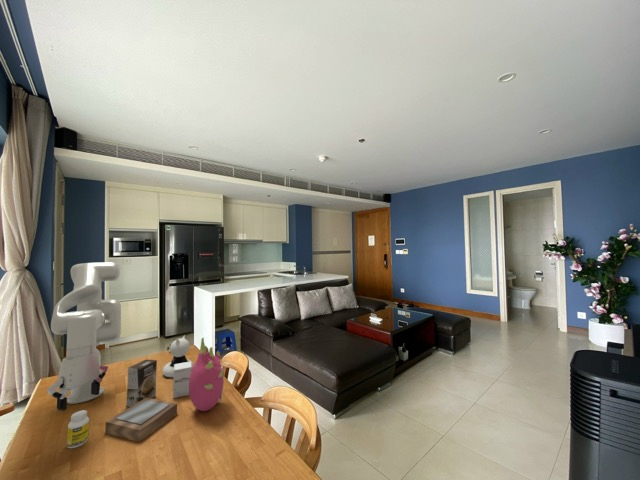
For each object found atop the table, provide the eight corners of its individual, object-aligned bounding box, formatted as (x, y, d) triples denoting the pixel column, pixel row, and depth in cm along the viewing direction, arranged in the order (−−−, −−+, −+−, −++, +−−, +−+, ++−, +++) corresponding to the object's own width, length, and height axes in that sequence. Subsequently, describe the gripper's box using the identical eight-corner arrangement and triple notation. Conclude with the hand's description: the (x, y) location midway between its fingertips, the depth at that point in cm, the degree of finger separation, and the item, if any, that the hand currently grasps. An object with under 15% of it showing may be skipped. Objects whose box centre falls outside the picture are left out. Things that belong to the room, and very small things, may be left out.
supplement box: (172, 399, 114) (173, 370, 114) (173, 391, 120) (173, 363, 121) (191, 394, 117) (191, 366, 118) (190, 387, 124) (191, 360, 124)
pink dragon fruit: (227, 415, 103) (229, 339, 104) (189, 426, 96) (191, 345, 97) (219, 393, 118) (221, 327, 119) (186, 402, 111) (188, 332, 112)
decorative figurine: (170, 366, 146) (171, 331, 146) (197, 365, 147) (197, 330, 148) (156, 379, 131) (157, 340, 132) (186, 378, 132) (187, 339, 133)
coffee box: (138, 408, 107) (139, 368, 108) (125, 406, 109) (127, 367, 109) (156, 396, 116) (157, 359, 117) (144, 394, 117) (145, 358, 118)
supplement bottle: (69, 451, 84) (71, 420, 84) (64, 444, 87) (65, 415, 87) (90, 441, 89) (92, 412, 89) (85, 435, 92) (86, 407, 92)
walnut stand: (105, 433, 92) (105, 420, 93) (146, 407, 108) (146, 396, 108) (139, 442, 88) (139, 429, 88) (177, 413, 104) (177, 402, 104)
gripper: (100, 341, 98) (99, 387, 97) (41, 359, 82) (38, 415, 81) (115, 343, 96) (113, 390, 95) (57, 361, 80) (55, 419, 79)
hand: (79, 401), depth 88 cm, fingers open, 9 cm apart
